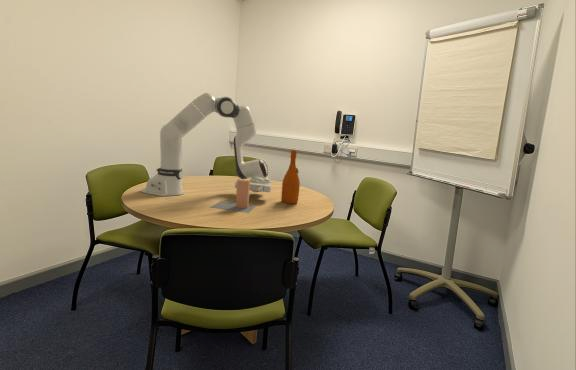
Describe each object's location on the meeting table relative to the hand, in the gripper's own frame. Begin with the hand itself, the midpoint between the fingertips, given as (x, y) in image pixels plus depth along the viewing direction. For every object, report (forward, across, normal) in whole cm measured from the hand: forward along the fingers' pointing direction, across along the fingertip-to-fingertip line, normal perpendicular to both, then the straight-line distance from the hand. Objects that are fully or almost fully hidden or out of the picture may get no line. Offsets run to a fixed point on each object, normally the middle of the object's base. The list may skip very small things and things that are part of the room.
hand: (249, 188), depth 190 cm
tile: (+11, 0, +8) cm, 13 cm away
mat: (+12, -4, +8) cm, 15 cm away
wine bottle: (-14, +20, +8) cm, 26 cm away
